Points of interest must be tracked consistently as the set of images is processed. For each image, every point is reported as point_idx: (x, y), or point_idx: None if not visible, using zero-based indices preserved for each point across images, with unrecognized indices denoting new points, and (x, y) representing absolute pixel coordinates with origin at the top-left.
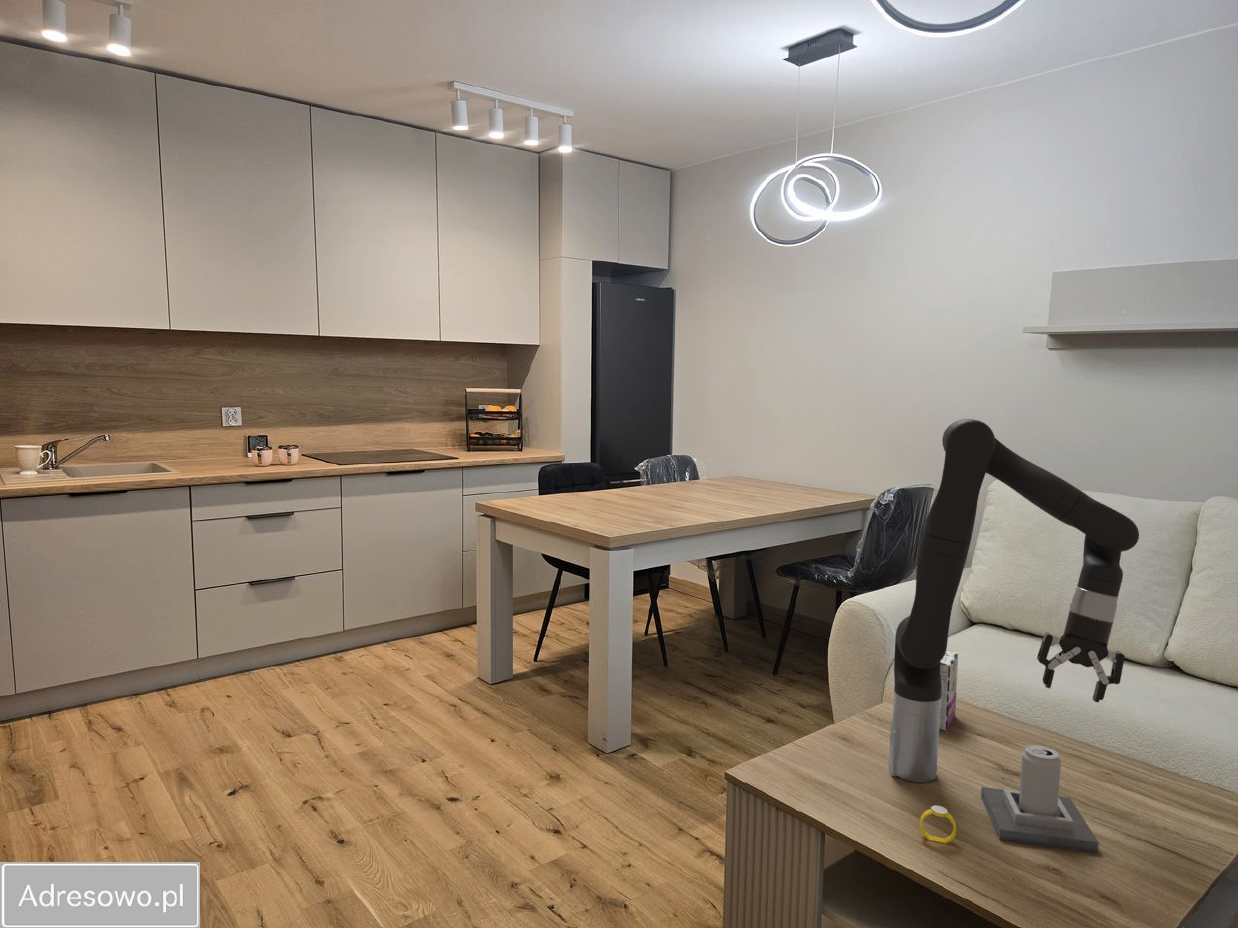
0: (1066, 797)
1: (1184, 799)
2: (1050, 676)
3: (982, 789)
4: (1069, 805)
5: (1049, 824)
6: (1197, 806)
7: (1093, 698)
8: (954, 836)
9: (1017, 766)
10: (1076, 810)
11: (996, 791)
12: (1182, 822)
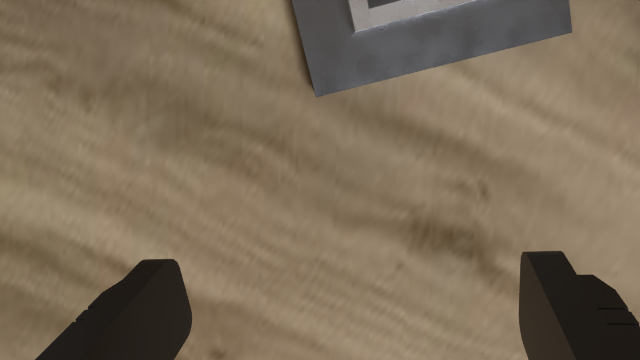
0: (325, 93)
1: (46, 295)
2: (588, 320)
3: (569, 16)
4: (318, 39)
5: None
6: (18, 270)
7: (184, 309)
8: None
9: (440, 287)
10: (300, 13)
11: (527, 22)
12: (47, 157)
